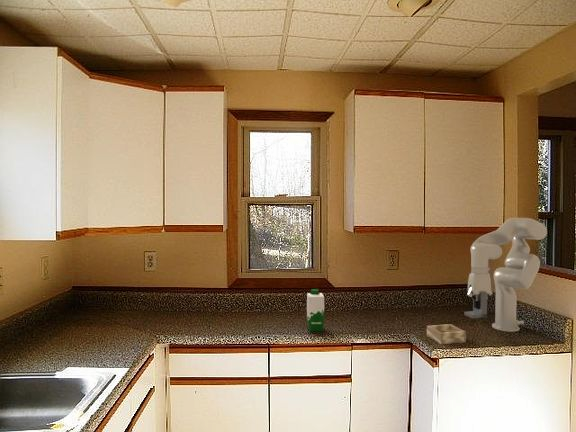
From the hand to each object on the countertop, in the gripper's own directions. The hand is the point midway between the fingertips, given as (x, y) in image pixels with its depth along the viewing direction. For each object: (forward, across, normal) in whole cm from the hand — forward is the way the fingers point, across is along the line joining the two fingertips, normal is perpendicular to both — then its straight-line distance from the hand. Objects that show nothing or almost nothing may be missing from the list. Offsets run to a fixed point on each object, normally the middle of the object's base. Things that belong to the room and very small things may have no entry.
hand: (480, 307), depth 194 cm
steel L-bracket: (+4, +2, 0) cm, 5 cm away
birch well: (+14, +18, 0) cm, 23 cm away
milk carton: (+13, +76, -28) cm, 81 cm away
